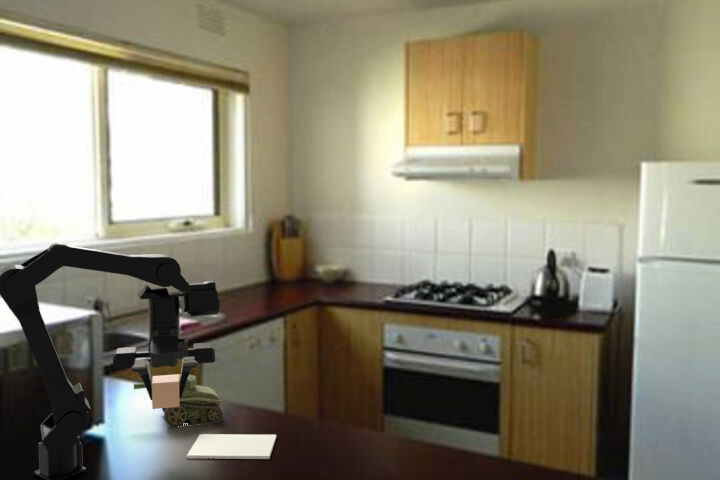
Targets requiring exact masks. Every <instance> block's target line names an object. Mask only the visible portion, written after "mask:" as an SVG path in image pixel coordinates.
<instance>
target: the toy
mask: <svg viewBox="0 0 720 480" xmlns="http://www.w3.org/2000/svg"><path fill="white" fill-rule="evenodd" d="M178 374H179V386H180V377H181V373H178ZM140 389H146V386H145V384H144V382H140V383H138V382H137V383H134V384H133V390H140ZM221 403H222V401H221V399H220V397H219V395H218V394H217V392H216V390H215V389H213V388H211V387H209V386H207V385H206V386H205V385H201V384H199V385H198V384H197V377H196V375H194V374H193V375H192V374H189V376H188V378H187V381H186V385H185V388H184V391H183V395H182V398H180V407H171V408H161V409H162V411H163V415H164V420H165V422H166V423H167V425H168V426H169V427H171V428H173V427H177V428H181V427H180V426H183V423H185V422H188V425H193V426H198V425H197V424H201V425H207V424H206V423H209V424H215V423H220V422H221V421H222V419H223V416H224V412H223V410H222V409H221V407H220V405H221ZM189 422H190V423H189ZM178 426H179V427H178ZM184 426H185V424H184ZM185 427H188V426H187V424H186V426H185Z"/></svg>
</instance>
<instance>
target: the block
mask: <svg viewBox="0 0 720 480" xmlns="http://www.w3.org/2000/svg"><path fill="white" fill-rule="evenodd" d="M179 374H180V373H177V374H165V375H164V374H163V375H153V376H152V377H151V380H152V400H151V405H152V406H151V407H152V410H155V409H156V410H157V409H162V408H171V407H180V398H179Z"/></svg>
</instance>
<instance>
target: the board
mask: <svg viewBox="0 0 720 480" xmlns="http://www.w3.org/2000/svg"><path fill="white" fill-rule="evenodd" d="M276 439H277V434H243V433H241V434H236V433H235V434H228V433H227V434H226V433H225V434H223V433H221V434H220V433H219V434H215V433H213V434H211V433H207V434H206V433H205V434H203V433H202V434H201V433H200V434H199V435H198V437H197V438H196V440H195V441H194V443H193V445H192V446H191V448H190V450H189V451H188V452H187V454H186V459H208V458H209V460H210V459H213V458H214V459H220V460H221V459H226V460H227V459H228V460H229V459H230V460H231V459H232V460H233V459H237V460H241V459H242V460H252V459H253V460H270V458H271V454H272V452H273V448H274V447H275V442H276Z"/></svg>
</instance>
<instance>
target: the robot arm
mask: <svg viewBox="0 0 720 480" xmlns="http://www.w3.org/2000/svg"><path fill="white" fill-rule="evenodd" d="M63 267H69V268H76V269H80V270H81V269H83V270H87V271H88V270H89V271H96V272H103V273H110V274H116V275H117V274H118V275H124V276H129V277H132V278H135V279H138V280H141V281H142V282H143V281H144V282H146V283H149V284H151V285H155V286H159V288H157V287H155V288H151V287H150V286H149V285H148V284H145V285H143V286H144V287H143V288H142V289H141V290H140V291H139V292H137V293H136V295H137V298H139V299H140V300H147V304H148V305H147V306H148V337H149V340H148V344H147V345H148V351H147V350H146V351H138V350H137V347H136V346H132V347H129V346H127V347H118V348H117V349H116V350H114V354H113V355H112V369H113V370H124V369H125V370H127V369H131V372H133V373H137V374H138V376H140V378H141V380H142V381H143V382H142V383H144V384H145V386H146V388H145V389H146V391H147V393H148V397H149V399H150V401H152V375H151V368H154V369H155V368H156V369H157V368H160V367H171V368H172V367H176V366H177V365H178V364H179V360H181V369H180V374H181V377H180V386H179V398H182V395H183V391H184V388H185V385H186V381H187V378H188V376H189V375H191V372H192V371H193V369H197V368H198V367H199V364H211V363H215V362H216V352H215V350H216V349H215V345H214V344H213V343H212V342H200V343H197V342H195V343H193V348H189V340H188V338H186V337H184V338H181V333H180V332H181V330H180V329H181V328H180V326H181V325H180V323H181V322H180V310H181V313H182V314H186V316H187V318H197V317H209V316H210V317H211V316H218V314H219V313H220V309H221V308H220V306H221V305H220V304H221V303H220V298H219V293H218V290H217V287H216V285H217V284H216V282H215V281H213V280H209V281H204V282H196V283H189V281H188V280H187V279H186V278H185V277H184V276H183V275H182V273H181V272H182V268H181V265H180V263H179V262H178V261H177V260H176V259H175V258H174V257H171V256H169V255H166V254H163V253H149V254H148V253H143V254H126V253H118V252H112V251H107V250H100V249H94V248H87V247H80V246H77V245H76V246H74V245H69V244H66V243H63V242H55V243H52V244H51V245H49V247H48V248H46V249H45V250H43V251H40V252H39V253H37V254H35V255H34V256H32V257H31V258H29V259H27V260H25V261H24V262H22V263H21V264H12V265H11V264H10V265H8V266H6V267H4V268H3V269H2V270H1V271H0V296H1V298H2V300H3V301H4V303H5V304H6V305H7V307H8V308H9V310H10V312H11V313H12V314H13V315H14V316H15V318H16V319H17V320H18V322H19V324H20V327H21V329H22V332H23V334H24V336H25V338H26V341H27V343H28V345H29V348H30V351H31V352H32V357H34V360H35V363H36V365H37V367H38V369H39V372H40V375H41V377H42V380H43V382H44V385H45V387H46V388H47V391H48V397H49V398H48V399H49V401H50V407H51V413H50V414H49V415H48V416H47V417H46V418H45V419H44V420H43V421H42V423H41V424H40V432H41V438H42V439H41V441H40V442H38V463H39V464H38V466H39V467H38V468H39V469H37V470H35V471H34V475H36V476H38V477H40V478H42V479H44V480H65V479H67V478H70V477H74V476H75V475H78V474H81V473H83V472H85V471H86V470H87V468H86V467H85V466H83V463H84V462H83V443H81V437H80V434H81V432H83V431H84V430H85V429H86V428H87V426H88V424H89V423H90V422H89V421H90V416H89V412H91V411H92V408H91V407H90V404H89V400H88V399H87V397H85V393H84V390H83V388H82V384H81V382H78V383H76V384H75V385H73V384H72V383H71V381H70V380H69V379H68V377H67V375H66V372H65V370H64V367H63V365H62V362H61V360H60V358H59V355H58V353H57V350H56V347H55V344H54V343H53V340H52V338H51V336H50V333H49V330H48V328H47V325H46V323H45V320H44V318H43V316H42V313H41V310H40V304H39V299H38V295H37V294H38V293H37V289H36V286H37V285H39V284H40V283H42V282H43V281H45V280H46V279H48V278H49V277H50V276H52V274H54V273H56V272H57V271H58V270H59V269H61V268H63ZM169 287H171V288H173V289H176V290H177V291H169V290H168V288H169ZM150 366H151V367H150Z"/></svg>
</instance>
